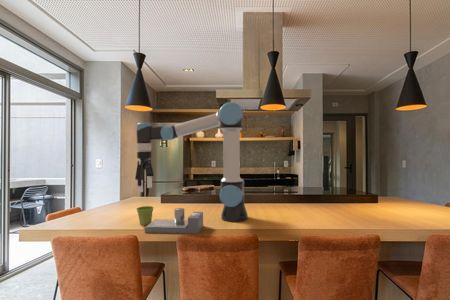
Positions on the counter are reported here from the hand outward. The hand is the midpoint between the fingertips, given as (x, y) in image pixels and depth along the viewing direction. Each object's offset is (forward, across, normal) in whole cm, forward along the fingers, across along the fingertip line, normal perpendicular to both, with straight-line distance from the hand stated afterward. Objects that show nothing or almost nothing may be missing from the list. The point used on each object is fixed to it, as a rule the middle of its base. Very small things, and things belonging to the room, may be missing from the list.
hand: (145, 189), depth 171 cm
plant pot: (+19, 0, 0) cm, 19 cm away
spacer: (+15, +9, +22) cm, 28 cm away
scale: (+19, +9, +19) cm, 28 cm away
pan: (+16, +9, +17) cm, 25 cm away
